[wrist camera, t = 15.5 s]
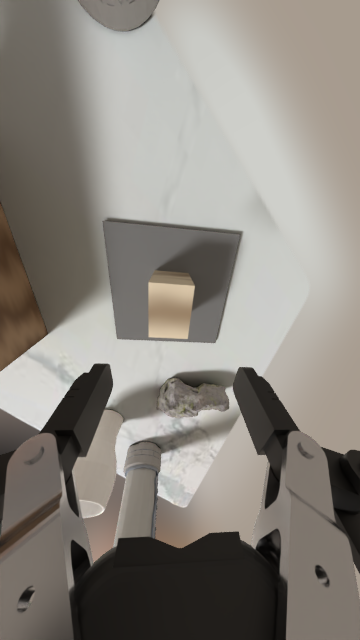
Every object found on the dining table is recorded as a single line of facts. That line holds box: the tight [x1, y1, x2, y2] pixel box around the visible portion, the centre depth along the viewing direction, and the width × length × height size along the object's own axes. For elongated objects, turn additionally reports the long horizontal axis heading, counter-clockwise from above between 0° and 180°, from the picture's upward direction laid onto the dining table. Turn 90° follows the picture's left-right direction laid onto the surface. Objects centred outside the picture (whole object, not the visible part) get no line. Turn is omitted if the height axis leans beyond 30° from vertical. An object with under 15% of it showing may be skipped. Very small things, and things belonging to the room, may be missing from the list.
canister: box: [113, 442, 161, 548], centre depth 34 cm, size 10×10×30 cm
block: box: [148, 270, 195, 339], centre depth 21 cm, size 7×5×7 cm
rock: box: [157, 378, 229, 418], centre depth 33 cm, size 16×7×7 cm, turn 93°
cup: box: [73, 410, 123, 518], centre depth 33 cm, size 11×11×15 cm
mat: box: [103, 221, 240, 343], centre depth 25 cm, size 18×18×1 cm
